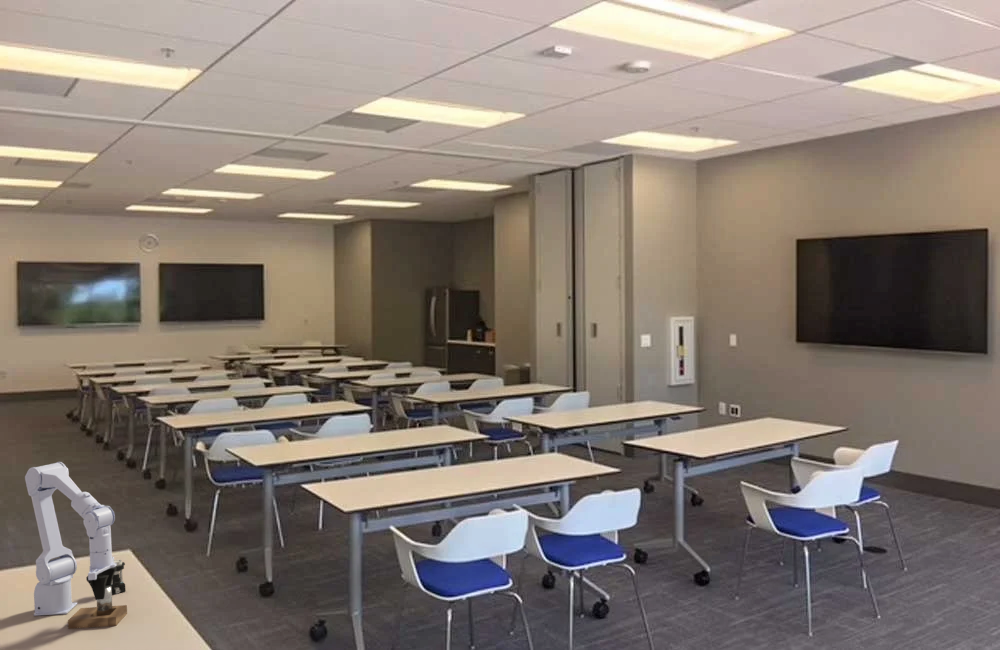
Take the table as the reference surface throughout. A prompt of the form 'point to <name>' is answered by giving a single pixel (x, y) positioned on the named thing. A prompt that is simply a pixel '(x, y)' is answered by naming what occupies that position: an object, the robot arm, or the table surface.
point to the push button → (118, 578)
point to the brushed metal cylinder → (105, 600)
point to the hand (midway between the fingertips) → (102, 596)
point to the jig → (97, 617)
